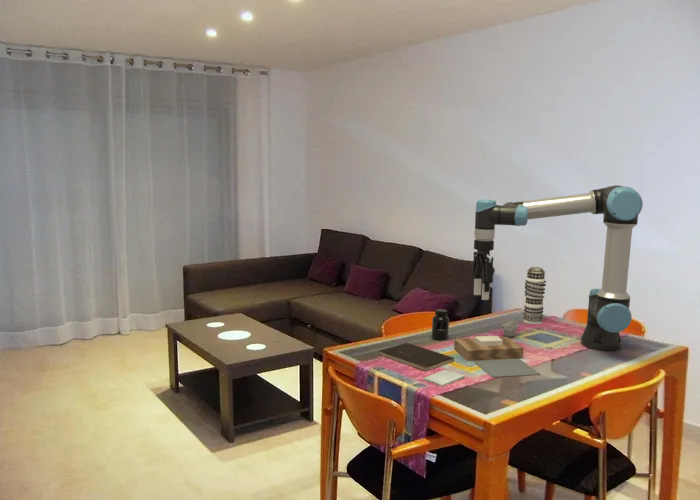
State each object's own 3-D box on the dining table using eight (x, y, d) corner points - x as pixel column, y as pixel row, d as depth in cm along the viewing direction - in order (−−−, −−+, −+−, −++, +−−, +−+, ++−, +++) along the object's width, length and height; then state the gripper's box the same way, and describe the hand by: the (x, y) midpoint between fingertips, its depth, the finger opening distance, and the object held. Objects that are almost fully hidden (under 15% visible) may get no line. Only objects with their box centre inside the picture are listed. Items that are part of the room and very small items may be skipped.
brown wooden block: (506, 346, 243) (507, 336, 242) (522, 358, 229) (523, 347, 229) (454, 348, 239) (454, 339, 238) (467, 361, 225) (468, 350, 225)
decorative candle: (544, 325, 274) (547, 270, 270) (522, 323, 276) (526, 269, 272) (542, 319, 283) (546, 266, 279) (522, 318, 285) (525, 265, 281)
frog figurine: (518, 339, 252) (519, 323, 251) (500, 338, 254) (501, 321, 253) (518, 335, 258) (519, 319, 257) (501, 333, 260) (502, 318, 259)
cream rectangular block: (496, 340, 237) (496, 335, 237) (502, 345, 231) (502, 340, 231) (474, 341, 236) (474, 336, 235) (480, 346, 230) (480, 341, 229)
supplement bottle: (440, 341, 247) (441, 313, 246) (428, 337, 253) (429, 309, 251) (451, 338, 252) (452, 310, 250) (439, 334, 257) (440, 307, 255)
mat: (519, 359, 228) (519, 358, 228) (540, 374, 213) (540, 373, 213) (473, 361, 225) (473, 361, 225) (491, 377, 209) (491, 376, 209)
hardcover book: (425, 373, 214) (425, 366, 214) (379, 356, 231) (379, 350, 231) (453, 363, 225) (454, 357, 224) (407, 347, 242) (407, 342, 241)
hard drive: (445, 368, 214) (422, 377, 206) (464, 375, 208) (441, 384, 200) (445, 373, 214) (422, 382, 206) (464, 380, 208) (441, 389, 200)
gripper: (465, 236, 245) (462, 291, 249) (485, 243, 225) (482, 303, 229) (482, 235, 246) (479, 291, 250) (504, 243, 227) (501, 303, 231)
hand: (481, 297), depth 240 cm, fingers open, 7 cm apart
